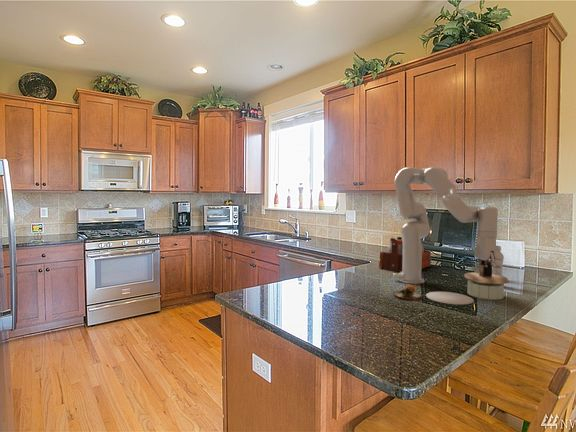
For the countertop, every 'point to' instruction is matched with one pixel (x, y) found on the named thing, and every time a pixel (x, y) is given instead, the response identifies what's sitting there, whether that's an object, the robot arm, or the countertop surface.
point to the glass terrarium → (408, 293)
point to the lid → (485, 277)
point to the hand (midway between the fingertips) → (485, 274)
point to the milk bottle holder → (400, 256)
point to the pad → (449, 298)
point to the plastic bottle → (498, 262)
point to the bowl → (485, 290)
